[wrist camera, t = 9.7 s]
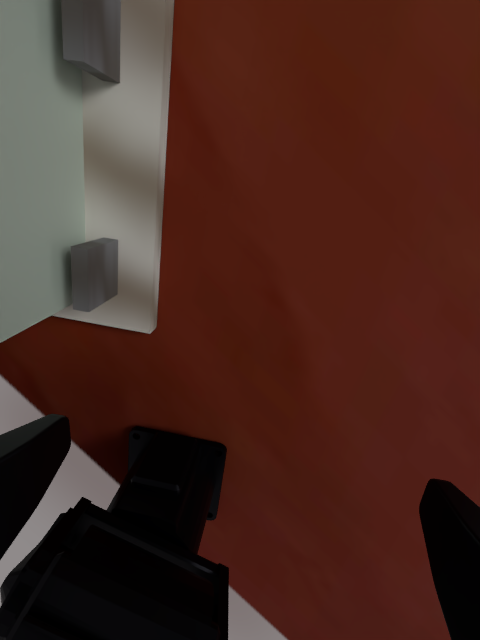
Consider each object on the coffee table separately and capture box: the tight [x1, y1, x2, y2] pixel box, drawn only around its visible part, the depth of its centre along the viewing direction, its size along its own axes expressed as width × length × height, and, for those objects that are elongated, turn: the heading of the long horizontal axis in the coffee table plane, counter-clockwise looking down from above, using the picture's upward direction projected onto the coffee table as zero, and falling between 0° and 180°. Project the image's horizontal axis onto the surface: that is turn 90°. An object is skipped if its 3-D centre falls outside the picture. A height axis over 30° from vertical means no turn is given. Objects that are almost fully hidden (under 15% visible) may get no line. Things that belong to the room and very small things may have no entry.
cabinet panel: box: [51, 0, 174, 334], centre depth 17 cm, size 17×10×4 cm, turn 172°
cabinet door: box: [0, 0, 86, 343], centre depth 14 cm, size 14×2×7 cm, turn 172°
